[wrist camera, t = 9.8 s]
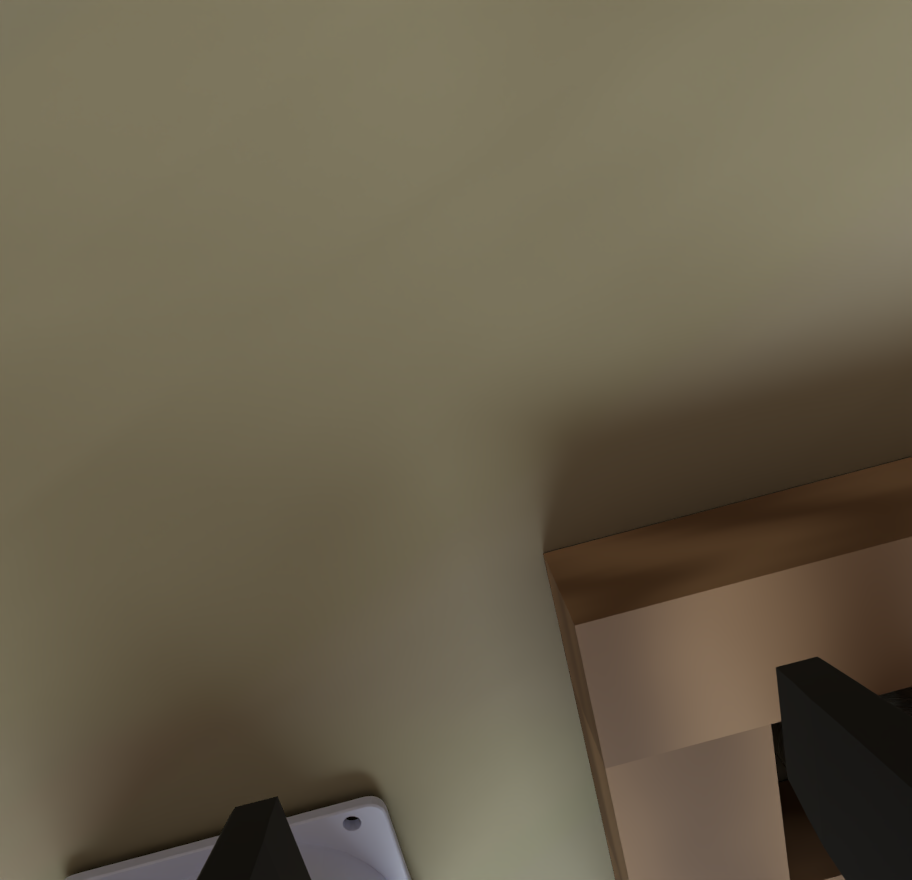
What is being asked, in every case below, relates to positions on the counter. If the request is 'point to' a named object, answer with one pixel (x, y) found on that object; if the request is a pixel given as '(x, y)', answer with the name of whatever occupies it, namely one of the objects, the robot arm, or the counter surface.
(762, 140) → the counter surface
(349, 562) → the counter surface
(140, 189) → the counter surface
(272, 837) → the robot arm
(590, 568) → the bead block
